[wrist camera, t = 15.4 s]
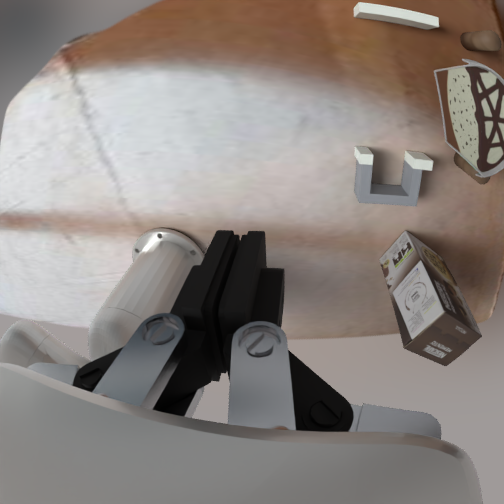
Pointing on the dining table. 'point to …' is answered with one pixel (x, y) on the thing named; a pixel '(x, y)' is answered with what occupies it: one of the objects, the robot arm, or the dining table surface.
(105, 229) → the dining table surface
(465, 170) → the goal posts
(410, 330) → the coffee box
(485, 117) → the food container
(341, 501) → the robot arm
